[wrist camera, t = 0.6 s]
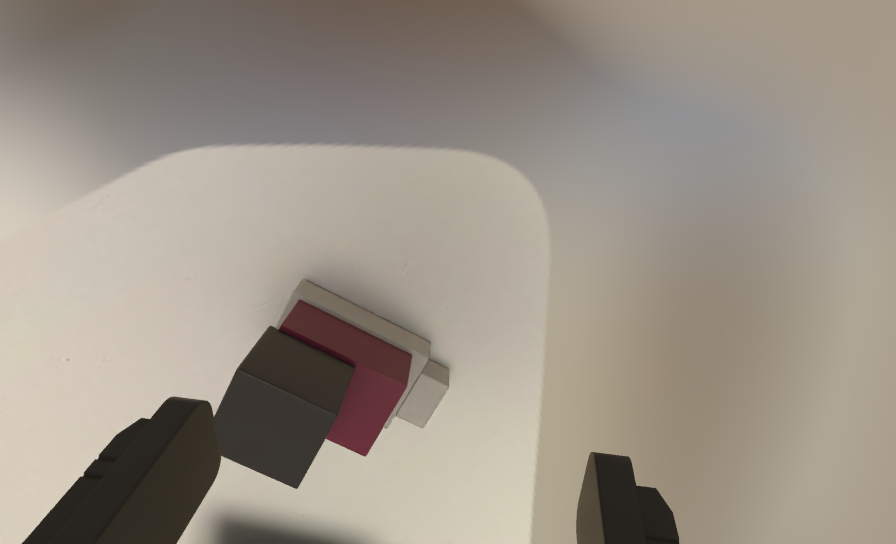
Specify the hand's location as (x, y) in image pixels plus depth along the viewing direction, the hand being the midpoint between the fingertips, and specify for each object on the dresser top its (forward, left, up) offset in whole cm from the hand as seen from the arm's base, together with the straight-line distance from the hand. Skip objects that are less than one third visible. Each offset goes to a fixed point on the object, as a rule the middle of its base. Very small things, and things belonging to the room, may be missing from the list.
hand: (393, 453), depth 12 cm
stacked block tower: (+5, -5, -17) cm, 18 cm away
